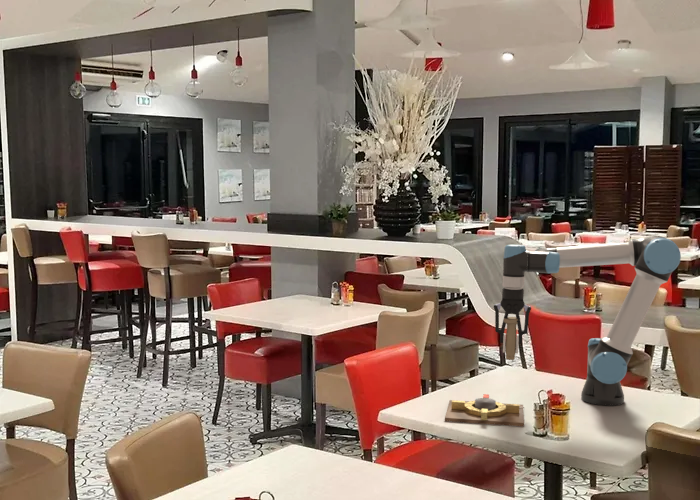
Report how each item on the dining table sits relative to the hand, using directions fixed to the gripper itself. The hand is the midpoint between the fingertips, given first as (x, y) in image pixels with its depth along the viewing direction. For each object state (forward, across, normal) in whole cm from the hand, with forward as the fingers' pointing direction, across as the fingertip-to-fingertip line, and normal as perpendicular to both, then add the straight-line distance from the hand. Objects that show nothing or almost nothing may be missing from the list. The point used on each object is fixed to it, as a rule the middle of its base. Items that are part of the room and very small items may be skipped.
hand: (510, 352), depth 292 cm
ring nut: (+18, +8, +16) cm, 25 cm away
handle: (+3, 0, 0) cm, 3 cm away
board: (+19, +8, +16) cm, 26 cm away
